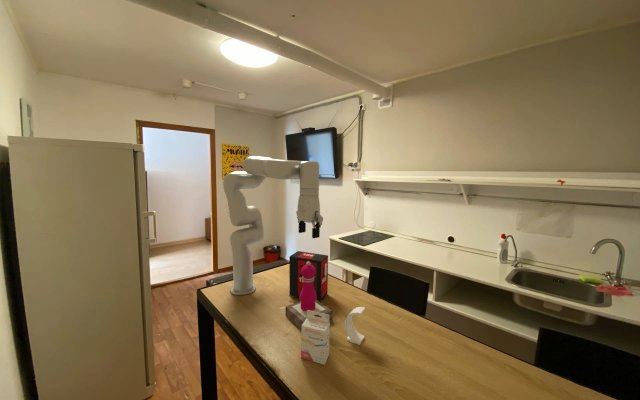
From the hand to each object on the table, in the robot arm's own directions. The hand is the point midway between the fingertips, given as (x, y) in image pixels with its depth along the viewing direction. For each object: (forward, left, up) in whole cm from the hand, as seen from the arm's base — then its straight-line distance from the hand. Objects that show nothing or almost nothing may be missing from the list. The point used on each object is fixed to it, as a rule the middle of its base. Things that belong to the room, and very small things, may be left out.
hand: (308, 235), depth 103 cm
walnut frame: (0, 0, -35) cm, 35 cm away
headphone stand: (+21, +6, -36) cm, 42 cm away
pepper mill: (0, 0, -31) cm, 31 cm away
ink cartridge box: (+20, -11, -36) cm, 42 cm away
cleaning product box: (-16, +11, -36) cm, 41 cm away
